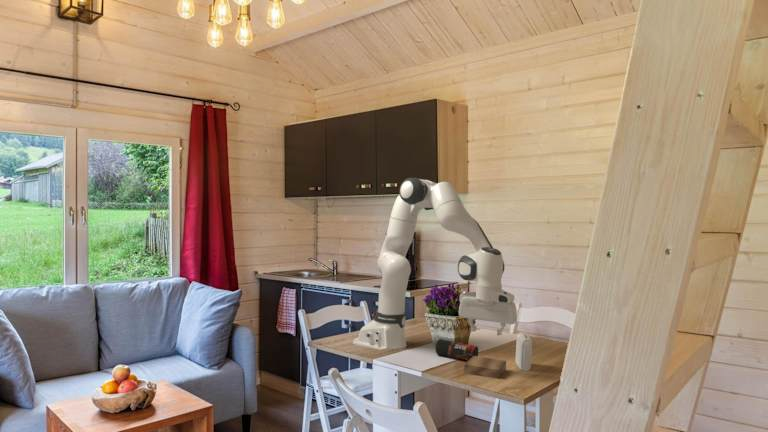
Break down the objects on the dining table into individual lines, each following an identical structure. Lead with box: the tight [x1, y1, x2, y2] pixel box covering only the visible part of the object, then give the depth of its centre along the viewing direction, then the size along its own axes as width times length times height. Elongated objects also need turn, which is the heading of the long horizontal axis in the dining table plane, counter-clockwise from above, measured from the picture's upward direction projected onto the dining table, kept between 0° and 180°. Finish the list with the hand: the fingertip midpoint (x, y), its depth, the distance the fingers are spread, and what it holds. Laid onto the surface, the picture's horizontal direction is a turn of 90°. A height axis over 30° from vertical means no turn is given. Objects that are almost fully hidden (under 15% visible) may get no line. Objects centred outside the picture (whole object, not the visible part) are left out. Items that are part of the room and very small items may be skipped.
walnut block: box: [463, 355, 507, 379], centre depth 206 cm, size 12×12×4 cm
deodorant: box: [435, 338, 479, 362], centre depth 221 cm, size 6×6×15 cm
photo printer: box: [514, 332, 533, 372], centre depth 214 cm, size 10×4×12 cm, turn 179°
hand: (486, 333), depth 205 cm, fingers open, 8 cm apart
